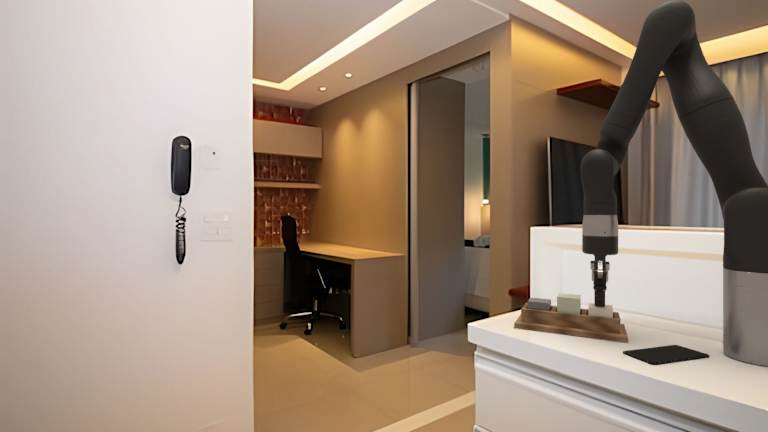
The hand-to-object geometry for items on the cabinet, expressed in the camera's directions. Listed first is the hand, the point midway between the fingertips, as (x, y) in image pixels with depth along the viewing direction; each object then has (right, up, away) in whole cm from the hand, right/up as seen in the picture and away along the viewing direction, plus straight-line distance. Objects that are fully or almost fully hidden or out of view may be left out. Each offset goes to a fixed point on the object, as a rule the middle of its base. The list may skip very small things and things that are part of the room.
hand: (599, 306), depth 92 cm
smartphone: (+5, -7, -15) cm, 17 cm away
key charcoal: (-12, -5, +6) cm, 14 cm away
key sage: (-6, -3, +3) cm, 7 cm away
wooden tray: (-6, -6, +3) cm, 9 cm away
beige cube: (0, -5, 0) cm, 5 cm away
